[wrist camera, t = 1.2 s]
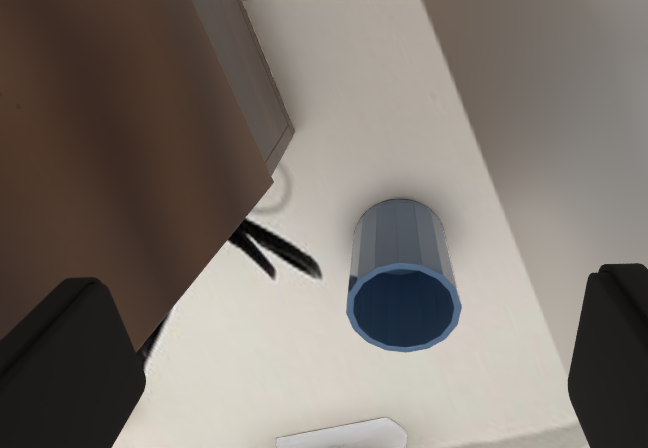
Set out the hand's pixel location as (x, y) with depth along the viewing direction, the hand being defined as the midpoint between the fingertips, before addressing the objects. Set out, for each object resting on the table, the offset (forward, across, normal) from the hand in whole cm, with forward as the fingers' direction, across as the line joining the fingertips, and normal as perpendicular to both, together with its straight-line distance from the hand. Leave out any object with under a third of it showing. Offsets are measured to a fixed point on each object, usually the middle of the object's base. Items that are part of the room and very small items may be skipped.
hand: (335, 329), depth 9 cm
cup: (+22, -1, +11) cm, 24 cm away
